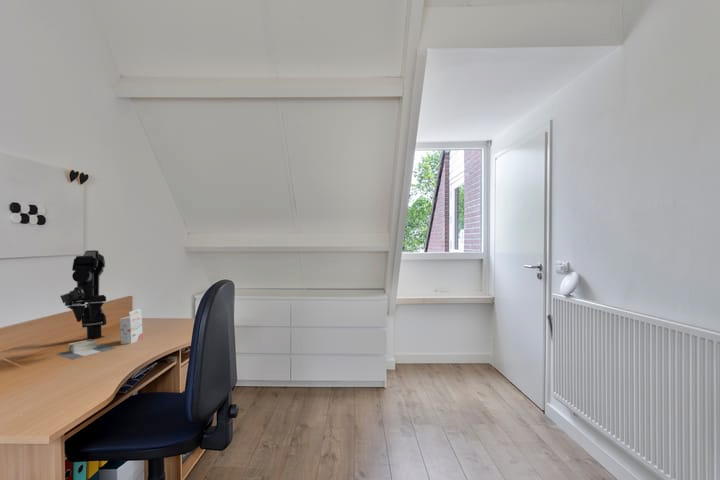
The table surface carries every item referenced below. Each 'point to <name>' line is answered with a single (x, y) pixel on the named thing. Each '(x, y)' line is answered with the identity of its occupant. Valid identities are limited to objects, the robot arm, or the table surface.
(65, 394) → the table surface
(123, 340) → the ink cartridge box
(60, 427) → the table surface
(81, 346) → the off-white banded block
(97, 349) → the charcoal mat
